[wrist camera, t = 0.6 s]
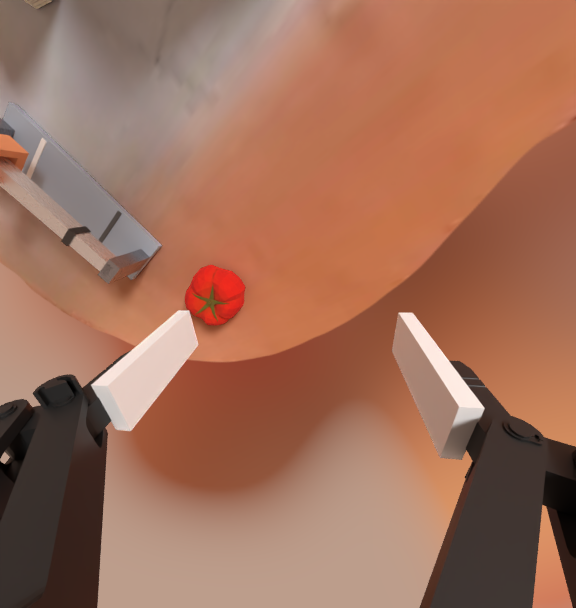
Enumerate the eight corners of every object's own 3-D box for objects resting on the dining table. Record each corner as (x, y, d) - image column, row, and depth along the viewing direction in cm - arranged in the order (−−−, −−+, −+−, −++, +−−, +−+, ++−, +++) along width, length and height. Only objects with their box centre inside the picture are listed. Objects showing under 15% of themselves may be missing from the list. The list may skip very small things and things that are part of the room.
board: (-2, 156, 39) (-11, 155, 38) (16, 104, 36) (7, 101, 35) (134, 278, 46) (130, 280, 45) (162, 245, 43) (158, 246, 42)
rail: (-5, 140, 37) (-75, 129, 31) (2, 119, 36) (-70, 102, 29) (139, 270, 44) (107, 284, 38) (150, 257, 43) (118, 269, 36)
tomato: (189, 296, 47) (171, 311, 41) (212, 252, 42) (195, 261, 36) (231, 322, 48) (219, 340, 42) (257, 282, 43) (248, 296, 38)
